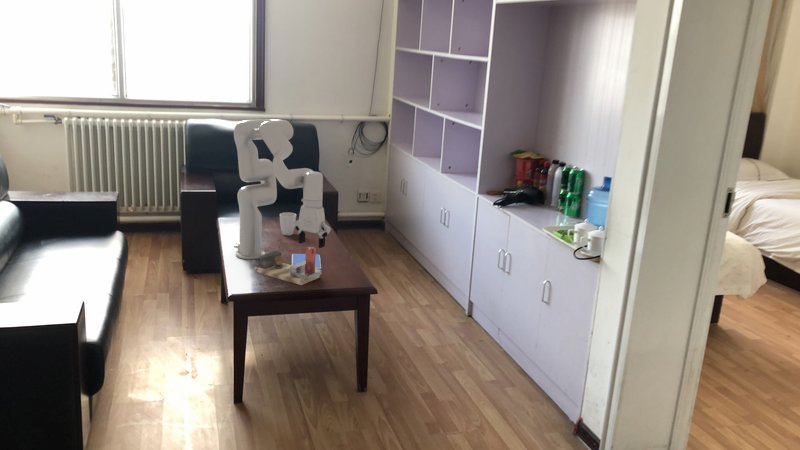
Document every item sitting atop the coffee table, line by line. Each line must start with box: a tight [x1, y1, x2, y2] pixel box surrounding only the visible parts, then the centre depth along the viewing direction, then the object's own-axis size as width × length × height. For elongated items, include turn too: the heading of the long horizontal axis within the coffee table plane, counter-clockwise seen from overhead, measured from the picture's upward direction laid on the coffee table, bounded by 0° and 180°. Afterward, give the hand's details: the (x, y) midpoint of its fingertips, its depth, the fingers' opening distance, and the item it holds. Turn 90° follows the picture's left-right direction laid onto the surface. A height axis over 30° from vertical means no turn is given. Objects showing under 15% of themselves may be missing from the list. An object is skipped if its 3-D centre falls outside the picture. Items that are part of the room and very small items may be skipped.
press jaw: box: [290, 246, 322, 280], centre depth 274 cm, size 9×9×12 cm
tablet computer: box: [291, 253, 322, 270], centre depth 298 cm, size 19×13×1 cm, turn 9°
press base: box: [256, 250, 321, 286], centre depth 280 cm, size 23×12×7 cm, turn 60°
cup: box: [279, 212, 297, 236], centre depth 336 cm, size 8×8×10 cm
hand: (311, 245), depth 271 cm, fingers open, 9 cm apart
